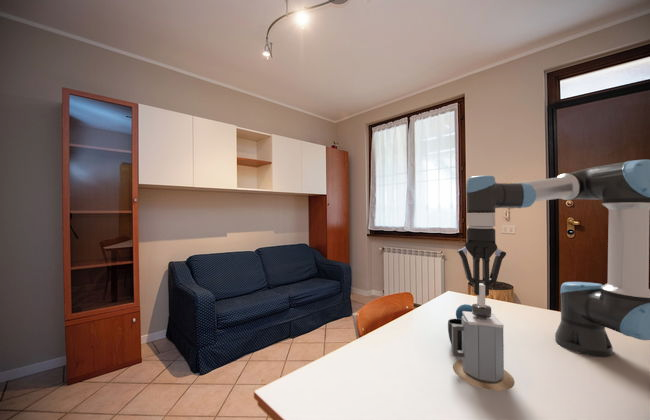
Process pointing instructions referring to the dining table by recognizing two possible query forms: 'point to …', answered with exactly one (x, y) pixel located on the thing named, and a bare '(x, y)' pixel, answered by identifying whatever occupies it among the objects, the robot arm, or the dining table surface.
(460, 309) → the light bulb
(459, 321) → the mug
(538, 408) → the dining table surface
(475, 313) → the plunger
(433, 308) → the dining table surface
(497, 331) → the carafe
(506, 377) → the cork trivet
